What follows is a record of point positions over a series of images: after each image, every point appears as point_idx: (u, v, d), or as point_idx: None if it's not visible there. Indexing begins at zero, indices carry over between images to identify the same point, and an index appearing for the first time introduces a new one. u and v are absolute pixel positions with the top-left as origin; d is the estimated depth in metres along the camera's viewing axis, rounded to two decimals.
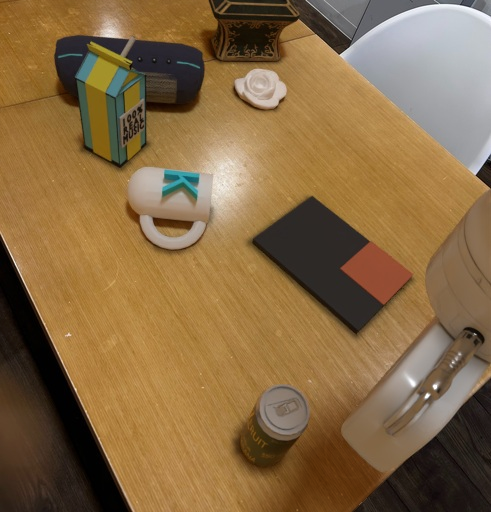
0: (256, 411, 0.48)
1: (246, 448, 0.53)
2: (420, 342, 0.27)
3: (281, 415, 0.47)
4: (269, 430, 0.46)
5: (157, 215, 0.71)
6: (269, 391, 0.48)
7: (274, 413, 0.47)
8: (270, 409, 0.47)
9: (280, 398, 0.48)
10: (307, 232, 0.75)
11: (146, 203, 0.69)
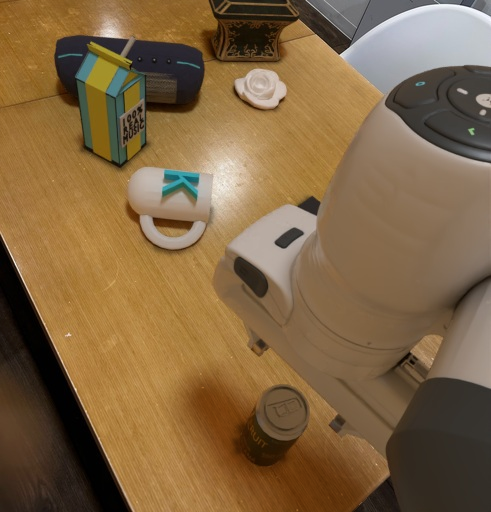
0: (256, 411, 0.48)
1: (246, 448, 0.53)
2: (395, 398, 0.31)
3: (281, 415, 0.47)
4: (269, 430, 0.46)
5: (157, 215, 0.71)
6: (269, 391, 0.48)
7: (274, 413, 0.47)
8: (270, 409, 0.47)
9: (280, 398, 0.48)
10: None
11: (146, 203, 0.69)
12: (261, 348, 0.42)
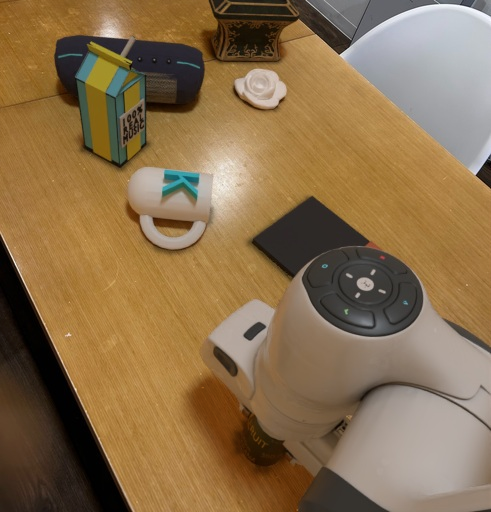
0: None
1: (246, 449, 0.53)
2: None
3: None
4: (269, 430, 0.46)
5: (157, 215, 0.71)
6: None
7: None
8: None
9: None
10: (307, 232, 0.75)
11: (146, 203, 0.69)
12: (249, 413, 0.52)
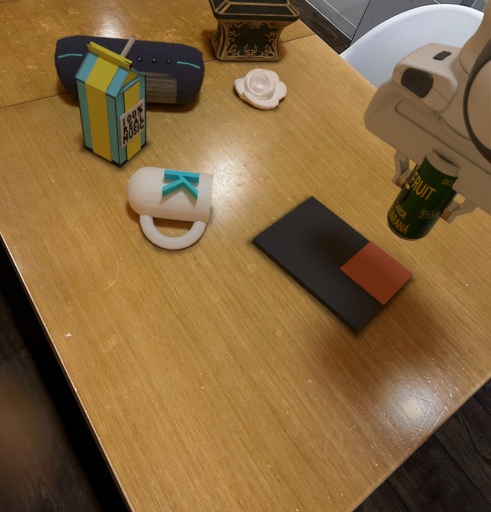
0: (427, 155, 0.51)
1: (400, 217, 0.57)
2: None
3: None
4: (443, 166, 0.50)
5: (157, 215, 0.71)
6: None
7: None
8: None
9: None
10: (307, 232, 0.75)
11: (146, 203, 0.69)
12: (406, 178, 0.55)
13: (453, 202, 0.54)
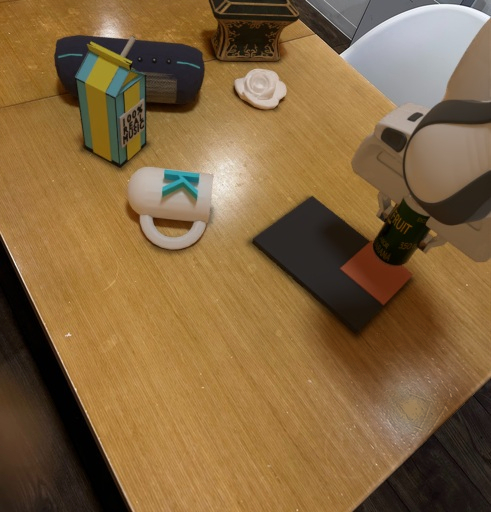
0: (404, 197, 0.60)
1: (383, 247, 0.65)
2: None
3: None
4: (418, 207, 0.58)
5: (157, 215, 0.71)
6: None
7: None
8: None
9: None
10: (307, 232, 0.75)
11: (146, 203, 0.69)
12: (388, 214, 0.64)
13: (428, 235, 0.63)
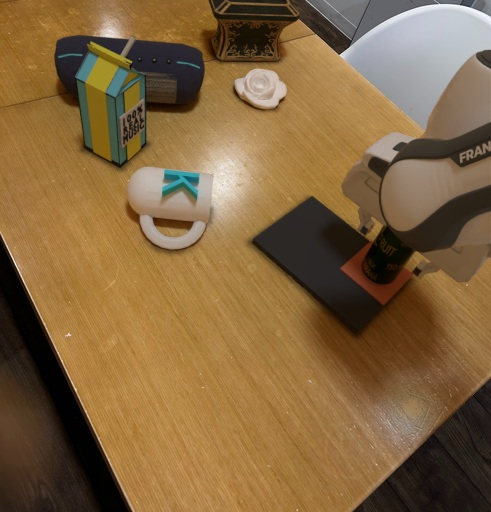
0: None
1: (370, 267, 0.69)
2: None
3: None
4: None
5: (157, 215, 0.71)
6: None
7: None
8: None
9: None
10: (307, 232, 0.75)
11: (146, 203, 0.69)
12: (368, 228, 0.68)
13: (423, 261, 0.66)
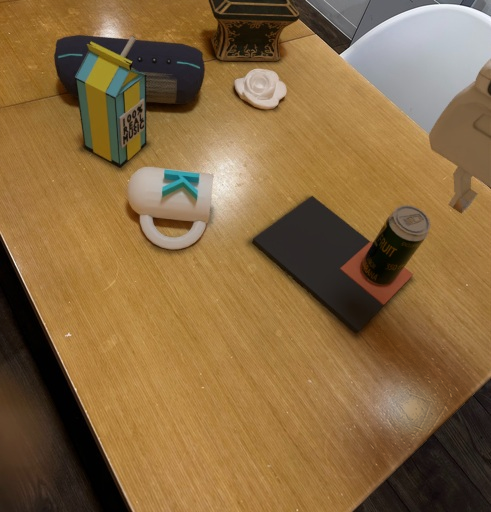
0: (389, 222, 0.63)
1: (370, 267, 0.69)
2: None
3: (410, 223, 0.63)
4: (402, 232, 0.62)
5: (157, 215, 0.71)
6: (398, 209, 0.64)
7: (404, 223, 0.63)
8: (401, 220, 0.63)
9: (407, 213, 0.64)
10: (307, 232, 0.75)
11: (146, 203, 0.69)
12: (468, 201, 0.45)
13: None
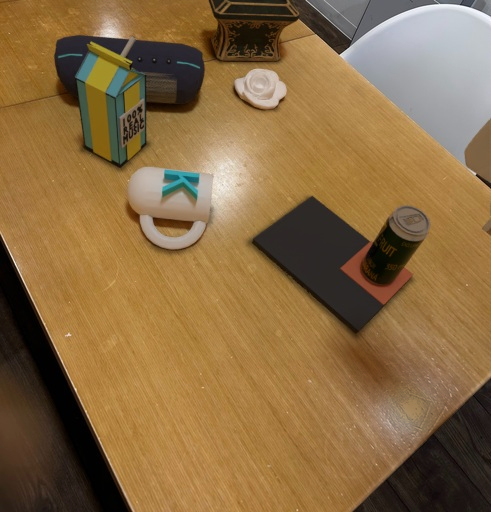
0: (389, 222, 0.63)
1: (370, 267, 0.69)
2: None
3: (410, 223, 0.63)
4: (402, 232, 0.62)
5: (157, 215, 0.71)
6: (398, 209, 0.64)
7: (404, 223, 0.63)
8: (401, 220, 0.63)
9: (407, 213, 0.64)
10: (307, 232, 0.75)
11: (146, 203, 0.69)
12: None
13: None
